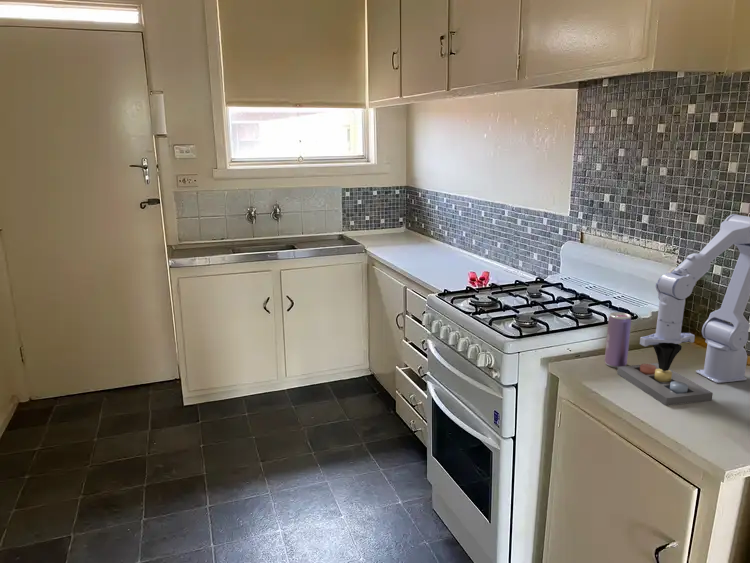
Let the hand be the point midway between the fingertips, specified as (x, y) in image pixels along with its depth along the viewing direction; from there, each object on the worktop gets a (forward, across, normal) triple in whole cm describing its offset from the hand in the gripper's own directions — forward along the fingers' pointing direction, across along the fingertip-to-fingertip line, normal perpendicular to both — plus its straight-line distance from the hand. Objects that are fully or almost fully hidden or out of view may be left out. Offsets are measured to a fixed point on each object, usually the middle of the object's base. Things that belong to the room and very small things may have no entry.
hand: (663, 369), depth 149 cm
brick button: (+4, 0, +6) cm, 7 cm away
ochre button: (+3, 0, 0) cm, 3 cm away
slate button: (+4, 0, -6) cm, 7 cm away
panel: (+5, 0, 0) cm, 5 cm away
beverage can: (+5, -3, +16) cm, 17 cm away
